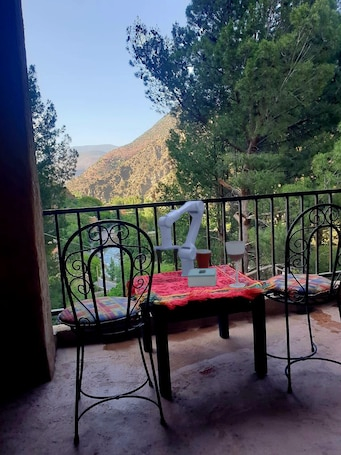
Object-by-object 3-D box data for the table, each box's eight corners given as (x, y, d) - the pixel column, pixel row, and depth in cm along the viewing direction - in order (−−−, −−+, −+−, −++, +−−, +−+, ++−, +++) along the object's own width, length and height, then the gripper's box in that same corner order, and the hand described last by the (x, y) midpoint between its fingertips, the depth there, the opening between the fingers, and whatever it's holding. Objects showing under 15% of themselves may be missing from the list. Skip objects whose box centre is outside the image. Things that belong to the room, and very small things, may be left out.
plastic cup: (211, 271, 214) (210, 251, 213) (193, 272, 216) (192, 252, 215) (213, 267, 225) (212, 248, 223) (196, 267, 227) (195, 249, 225)
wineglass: (230, 282, 188) (228, 240, 185) (249, 283, 183) (246, 240, 181) (225, 287, 180) (223, 243, 177) (244, 288, 176) (242, 243, 173)
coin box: (191, 279, 199) (190, 269, 199) (216, 278, 197) (216, 268, 196) (188, 286, 186) (187, 275, 185) (215, 286, 183) (214, 274, 182)
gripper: (151, 239, 195) (153, 264, 196) (178, 238, 192) (179, 263, 194) (154, 238, 202) (156, 261, 203) (180, 236, 199) (181, 261, 200)
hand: (168, 262), depth 199 cm, fingers open, 7 cm apart
